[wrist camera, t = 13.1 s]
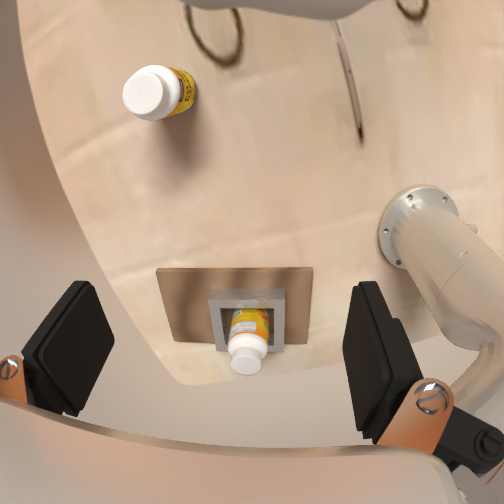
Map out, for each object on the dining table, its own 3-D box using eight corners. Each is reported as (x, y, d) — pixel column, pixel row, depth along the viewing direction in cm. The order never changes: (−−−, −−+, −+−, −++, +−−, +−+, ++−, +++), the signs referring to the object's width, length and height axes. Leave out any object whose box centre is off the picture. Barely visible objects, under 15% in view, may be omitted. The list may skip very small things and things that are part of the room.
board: (312, 267, 42) (312, 271, 42) (306, 339, 49) (306, 343, 48) (157, 268, 44) (155, 271, 43) (175, 337, 51) (174, 341, 50)
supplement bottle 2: (269, 328, 47) (268, 378, 39) (235, 329, 48) (228, 378, 39) (268, 301, 45) (266, 351, 36) (230, 302, 45) (221, 352, 37)
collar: (284, 288, 43) (285, 299, 41) (283, 340, 48) (283, 351, 46) (210, 288, 44) (207, 299, 42) (218, 339, 49) (216, 351, 47)
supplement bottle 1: (205, 103, 33) (180, 109, 24) (162, 120, 34) (126, 134, 25) (189, 61, 30) (159, 53, 21) (147, 80, 31) (106, 81, 22)
